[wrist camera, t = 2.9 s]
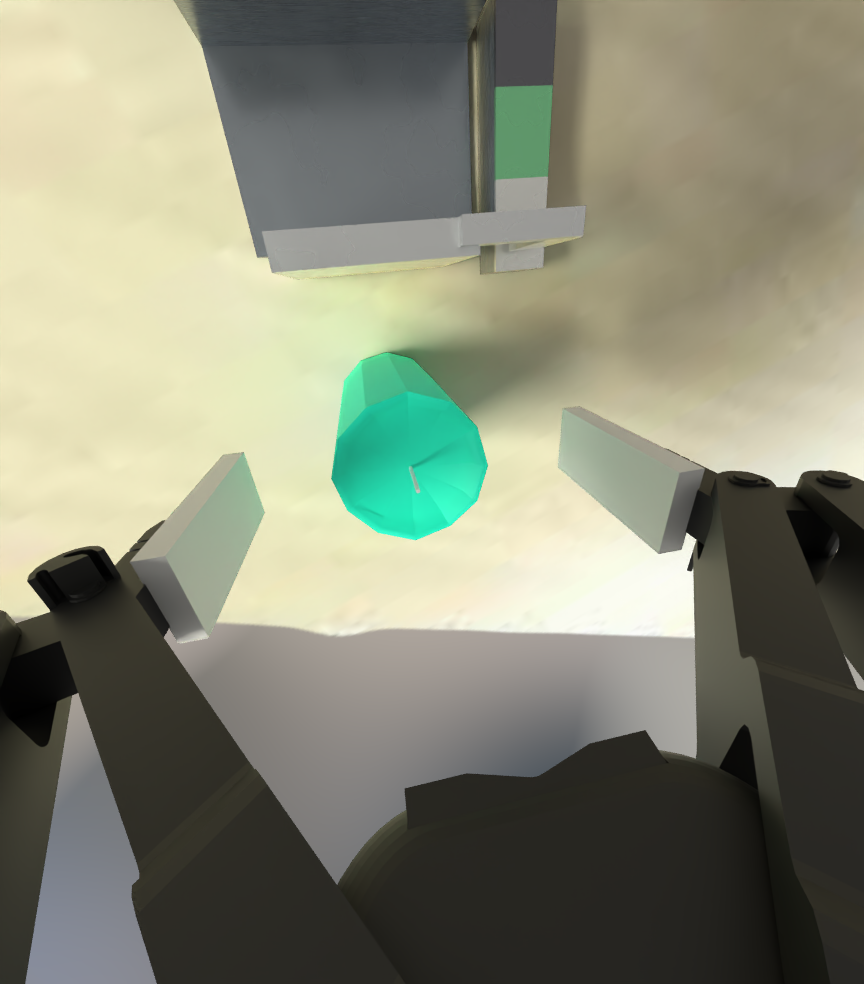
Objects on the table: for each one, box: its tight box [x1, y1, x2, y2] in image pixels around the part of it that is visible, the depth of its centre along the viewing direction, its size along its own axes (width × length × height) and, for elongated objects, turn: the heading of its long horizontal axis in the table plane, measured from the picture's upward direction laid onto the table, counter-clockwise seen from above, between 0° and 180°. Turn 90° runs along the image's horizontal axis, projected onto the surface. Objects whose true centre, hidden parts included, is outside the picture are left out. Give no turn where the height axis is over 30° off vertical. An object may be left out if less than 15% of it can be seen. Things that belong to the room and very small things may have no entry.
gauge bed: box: [174, 0, 557, 274], centre depth 15 cm, size 14×9×6 cm
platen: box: [262, 205, 586, 280], centre depth 16 cm, size 12×1×7 cm, turn 95°
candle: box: [331, 352, 488, 540], centre depth 18 cm, size 6×6×12 cm
